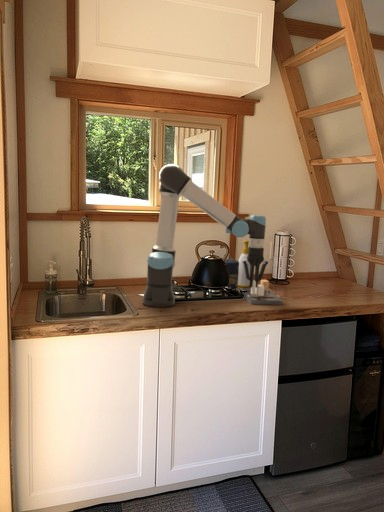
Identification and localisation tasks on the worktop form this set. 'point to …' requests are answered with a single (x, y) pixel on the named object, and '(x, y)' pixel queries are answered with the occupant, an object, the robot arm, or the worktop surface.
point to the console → (266, 299)
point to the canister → (232, 272)
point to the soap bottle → (242, 276)
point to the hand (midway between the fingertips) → (252, 293)
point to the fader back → (264, 284)
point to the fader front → (259, 290)
